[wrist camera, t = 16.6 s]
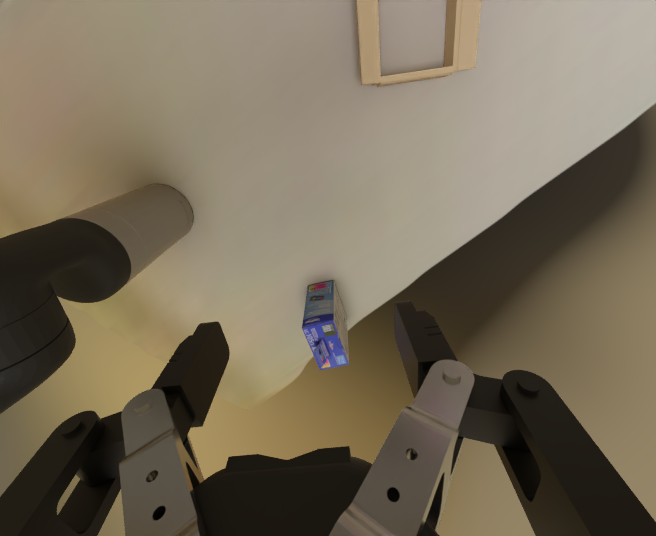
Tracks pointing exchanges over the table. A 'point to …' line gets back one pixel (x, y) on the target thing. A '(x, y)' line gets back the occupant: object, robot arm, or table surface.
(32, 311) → the robot arm
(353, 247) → the table surface
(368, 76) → the light wooden frame
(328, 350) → the ink cartridge box
